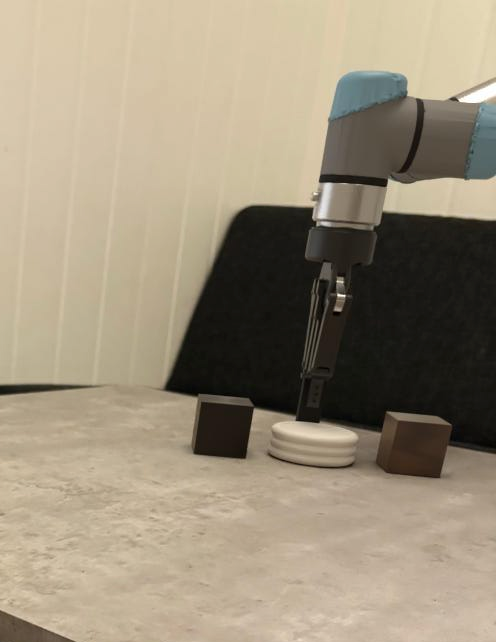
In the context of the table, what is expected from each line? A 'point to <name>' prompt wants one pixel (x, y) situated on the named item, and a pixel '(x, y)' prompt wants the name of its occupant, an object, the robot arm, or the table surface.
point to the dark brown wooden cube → (413, 444)
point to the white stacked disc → (312, 444)
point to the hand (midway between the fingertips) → (305, 432)
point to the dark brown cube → (222, 426)
